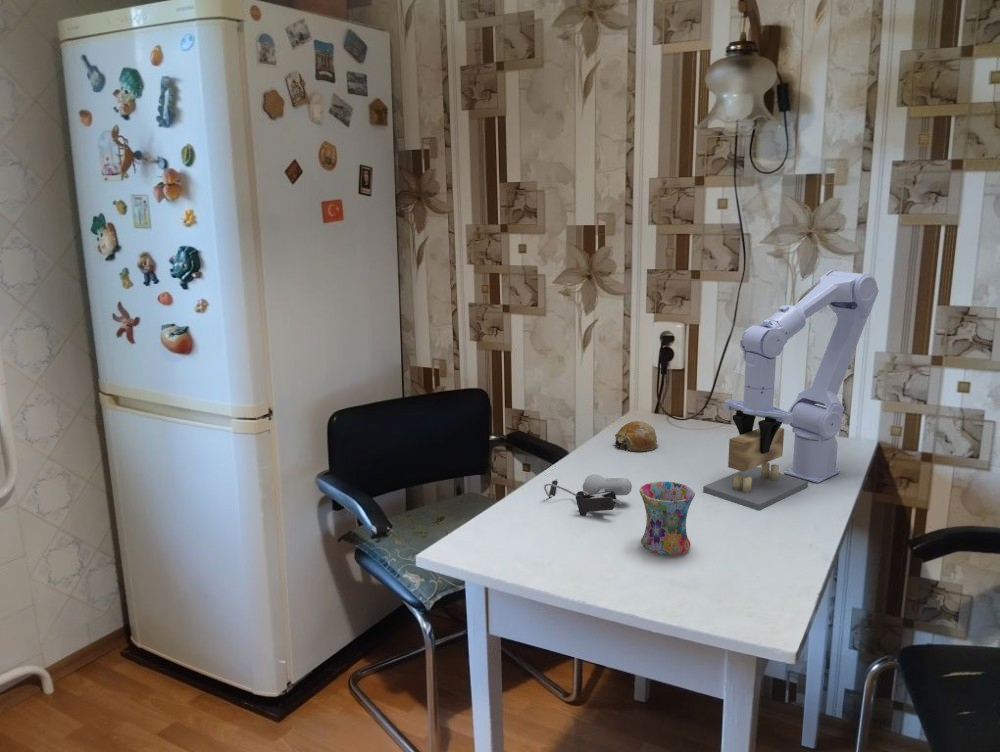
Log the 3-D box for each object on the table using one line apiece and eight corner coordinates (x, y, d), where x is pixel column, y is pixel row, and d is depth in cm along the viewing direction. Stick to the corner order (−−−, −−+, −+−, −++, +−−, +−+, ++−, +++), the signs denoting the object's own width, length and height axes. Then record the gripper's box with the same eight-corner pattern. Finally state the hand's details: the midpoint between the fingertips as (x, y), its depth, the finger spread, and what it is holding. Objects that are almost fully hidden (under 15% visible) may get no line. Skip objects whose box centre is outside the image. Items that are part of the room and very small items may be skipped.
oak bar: (767, 451, 169) (768, 424, 168) (782, 455, 167) (784, 428, 165) (728, 467, 161) (729, 438, 159) (743, 471, 158) (745, 443, 157)
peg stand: (752, 470, 175) (753, 452, 174) (807, 486, 165) (809, 467, 164) (703, 491, 164) (703, 472, 163) (758, 510, 154) (760, 490, 153)
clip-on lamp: (535, 518, 160) (613, 519, 149) (527, 488, 159) (605, 487, 148) (564, 493, 169) (640, 493, 158) (557, 466, 168) (632, 463, 157)
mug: (688, 563, 133) (691, 504, 131) (633, 555, 136) (634, 497, 134) (697, 534, 144) (700, 479, 142) (646, 527, 147) (647, 473, 145)
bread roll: (652, 467, 189) (668, 438, 187) (614, 450, 188) (629, 420, 186) (646, 453, 199) (660, 425, 197) (609, 437, 198) (623, 409, 196)
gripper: (716, 382, 163) (714, 446, 166) (780, 396, 152) (776, 463, 155) (737, 377, 167) (733, 438, 170) (800, 389, 156) (796, 455, 159)
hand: (755, 450), depth 163 cm, fingers closed on oak bar, 4 cm apart
